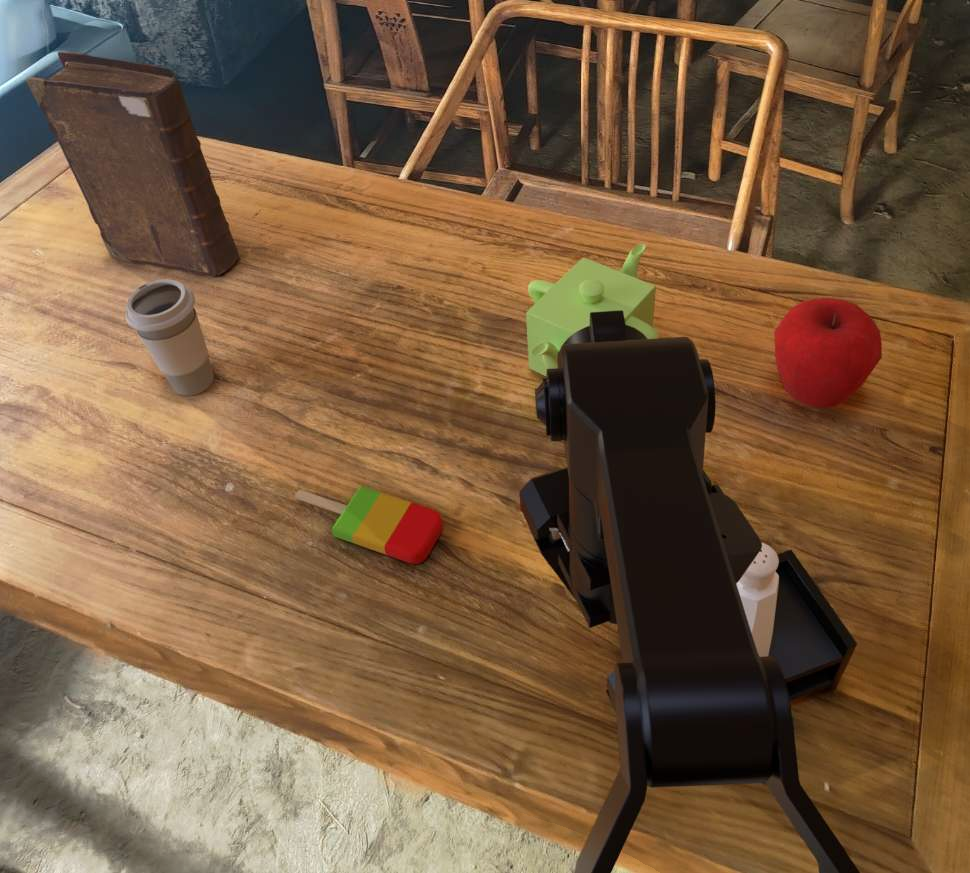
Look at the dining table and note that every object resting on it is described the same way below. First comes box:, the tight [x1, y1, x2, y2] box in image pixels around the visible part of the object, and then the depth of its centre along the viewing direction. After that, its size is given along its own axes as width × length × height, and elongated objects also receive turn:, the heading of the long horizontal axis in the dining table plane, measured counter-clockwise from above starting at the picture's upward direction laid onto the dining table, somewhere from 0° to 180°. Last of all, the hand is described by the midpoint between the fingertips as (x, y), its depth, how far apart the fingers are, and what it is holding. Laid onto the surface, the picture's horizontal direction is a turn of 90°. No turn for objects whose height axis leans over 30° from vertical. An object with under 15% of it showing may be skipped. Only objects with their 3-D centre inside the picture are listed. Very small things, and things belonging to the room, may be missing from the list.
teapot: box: [525, 243, 660, 377], centre depth 96 cm, size 15×13×11 cm
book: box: [26, 50, 240, 278], centre depth 108 cm, size 17×7×25 cm, turn 64°
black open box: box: [768, 549, 858, 702], centre depth 73 cm, size 9×14×8 cm, turn 110°
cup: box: [125, 278, 215, 397], centre depth 98 cm, size 7×7×12 cm
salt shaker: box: [736, 542, 779, 657], centre depth 67 cm, size 5×5×11 cm
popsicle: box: [294, 485, 444, 565], centre depth 87 cm, size 6×15×2 cm, turn 66°
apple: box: [773, 297, 883, 409], centre depth 90 cm, size 10×10×11 cm
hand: (612, 655), depth 63 cm, fingers open, 9 cm apart
